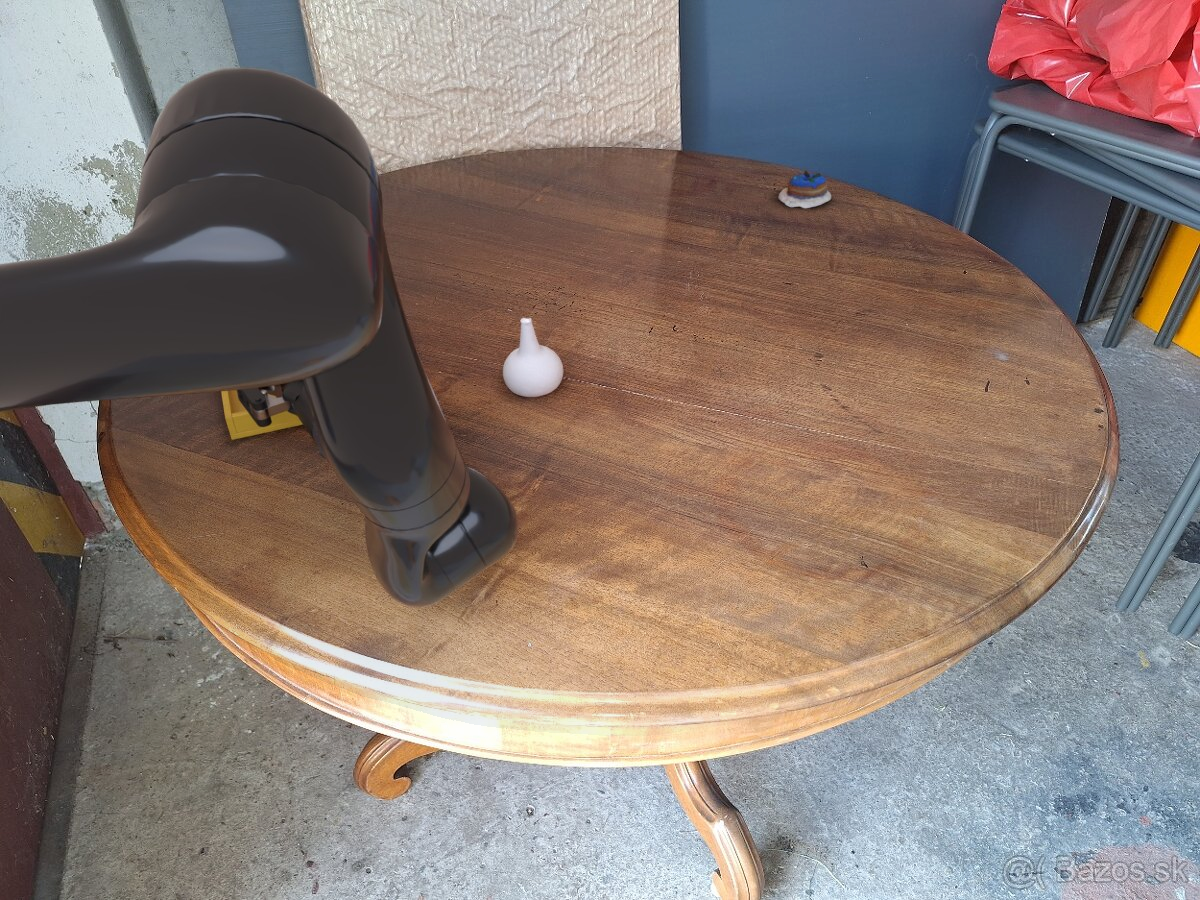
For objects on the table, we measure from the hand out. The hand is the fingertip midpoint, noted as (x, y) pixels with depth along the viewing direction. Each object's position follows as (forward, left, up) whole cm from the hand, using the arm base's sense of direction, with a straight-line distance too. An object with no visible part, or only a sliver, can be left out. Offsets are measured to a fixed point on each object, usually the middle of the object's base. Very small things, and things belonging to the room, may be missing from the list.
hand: (297, 342), depth 85 cm
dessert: (+77, +29, -8) cm, 83 cm away
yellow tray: (-1, +5, -8) cm, 10 cm away
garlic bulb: (+22, -4, -8) cm, 24 cm away
